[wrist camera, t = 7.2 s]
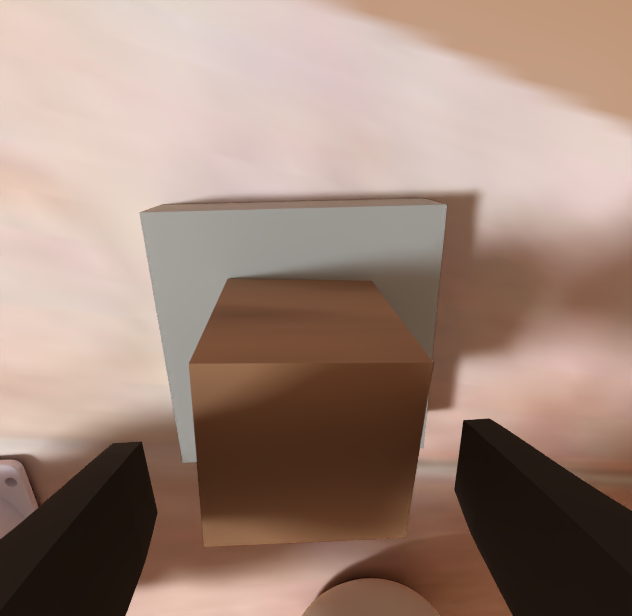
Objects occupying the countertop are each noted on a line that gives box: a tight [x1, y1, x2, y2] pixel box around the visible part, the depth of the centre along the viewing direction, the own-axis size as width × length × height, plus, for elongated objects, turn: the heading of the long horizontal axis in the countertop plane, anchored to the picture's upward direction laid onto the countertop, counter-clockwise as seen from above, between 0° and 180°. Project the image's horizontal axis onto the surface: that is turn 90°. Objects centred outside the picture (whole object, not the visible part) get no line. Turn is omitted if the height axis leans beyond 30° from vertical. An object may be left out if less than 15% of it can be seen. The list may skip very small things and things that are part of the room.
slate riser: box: [140, 198, 447, 463], centre depth 16 cm, size 10×10×3 cm
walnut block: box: [189, 279, 434, 547], centre depth 12 cm, size 5×5×6 cm
